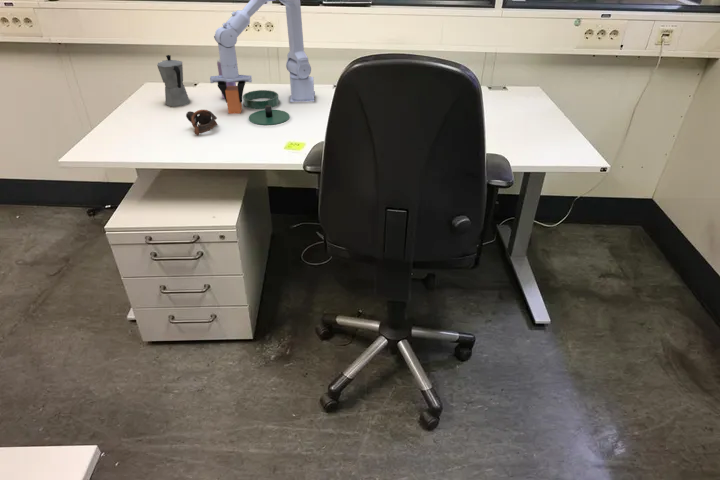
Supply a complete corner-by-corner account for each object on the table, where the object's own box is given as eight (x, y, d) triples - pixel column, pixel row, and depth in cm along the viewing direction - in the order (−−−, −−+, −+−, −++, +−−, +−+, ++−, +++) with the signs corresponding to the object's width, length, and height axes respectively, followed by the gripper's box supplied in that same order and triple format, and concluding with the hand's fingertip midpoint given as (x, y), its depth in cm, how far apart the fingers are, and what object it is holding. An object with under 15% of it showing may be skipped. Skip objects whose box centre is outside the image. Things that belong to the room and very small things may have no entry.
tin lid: (290, 111, 187) (289, 99, 184) (289, 126, 175) (288, 112, 172) (251, 112, 186) (249, 99, 183) (247, 127, 174) (245, 113, 171)
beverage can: (235, 101, 196) (230, 61, 188) (220, 100, 197) (214, 61, 188) (239, 96, 201) (234, 57, 193) (224, 95, 201) (218, 57, 193)
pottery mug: (225, 127, 175) (221, 112, 168) (211, 147, 171) (207, 132, 164) (194, 115, 176) (189, 99, 169) (180, 134, 172) (174, 119, 165)
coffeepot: (160, 100, 196) (149, 53, 186) (183, 96, 201) (174, 49, 191) (173, 111, 186) (163, 62, 176) (197, 107, 191) (189, 58, 180)
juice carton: (242, 108, 188) (239, 85, 183) (240, 113, 184) (237, 90, 179) (230, 108, 188) (227, 85, 183) (228, 113, 183) (225, 90, 179)
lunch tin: (279, 98, 199) (278, 89, 197) (278, 110, 188) (277, 101, 186) (245, 99, 198) (244, 90, 196) (242, 111, 187) (241, 101, 185)
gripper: (206, 67, 172) (212, 105, 180) (248, 66, 173) (253, 105, 181) (209, 62, 178) (215, 99, 186) (250, 61, 179) (254, 98, 187)
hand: (234, 101), depth 184 cm, fingers closed on juice carton, 4 cm apart
